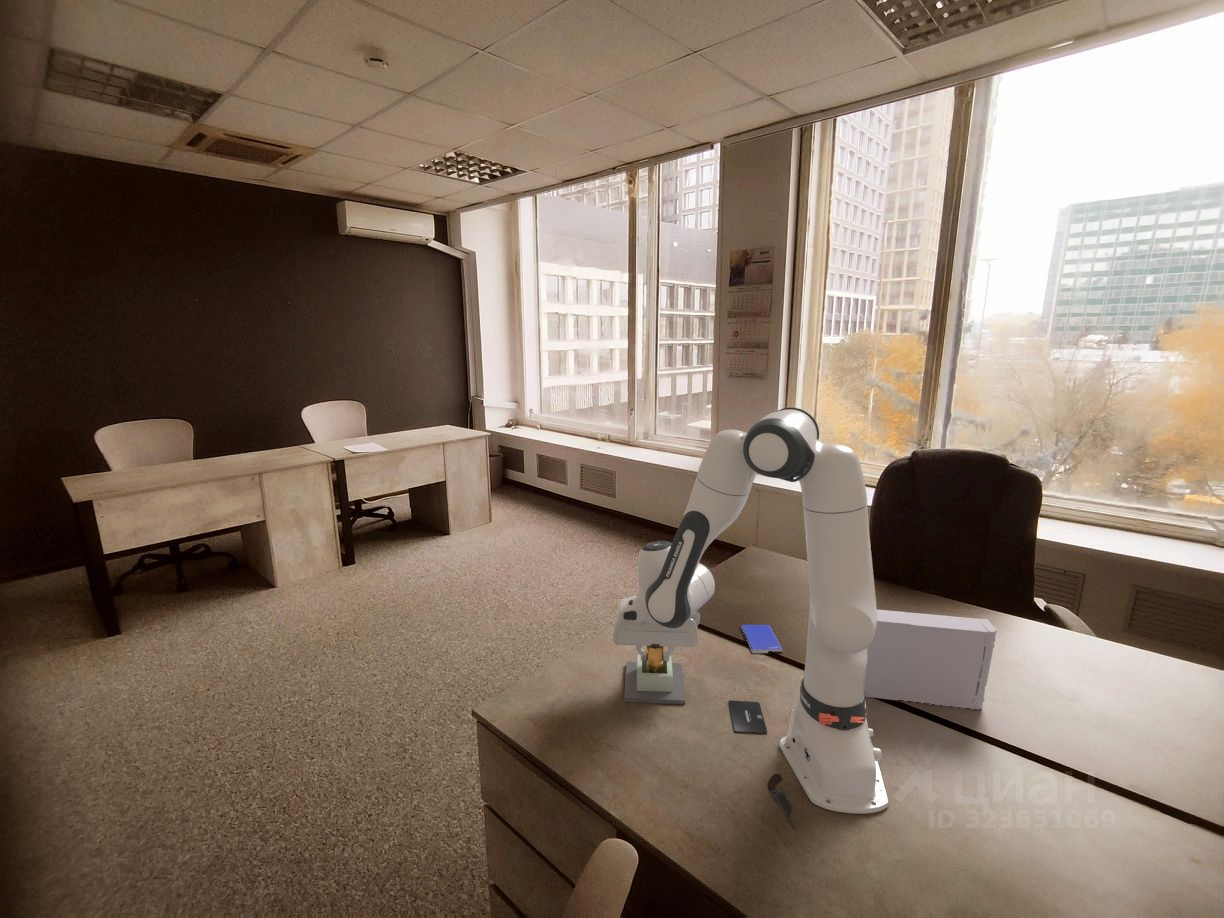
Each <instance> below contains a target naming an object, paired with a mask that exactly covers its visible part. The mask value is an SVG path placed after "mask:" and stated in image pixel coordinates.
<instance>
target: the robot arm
mask: <svg viewBox="0 0 1224 918" xmlns="http://www.w3.org/2000/svg"><path fill="white" fill-rule="evenodd" d="M819 439H820V429H819V425H818V423H817V421H816V419H815V417H814V416H813V415H812V414H810V413H809V412H808V411H806V410H805V409H802V408H799V407H784V408H781V409H778V410H777V411H774V412H773V411H772V412H770V413H769V414H767V415H765V416H763V418H761V419H760V420H759V421H757V422H756V423H755V424H753V425H752V426H751V427H750V429H749V430H748V431H747V432H746V431H742V430H738V429H724V430H721V431H719V432H717V433H716V434H715V435H714V436H713V437H712V439H711V441H710V443H709V445H708V446H707V448H706V450H705V453H704V455H703V458H702V460H701V462H700V465H699V468H698V471H697V474H696V477H695V481H694V484H693V487H692V490H691V494H690V497H689V500H688V502H687V505H686V509H685V510H684V512H683V515H682V519H681V521H680V523H679V526H678V527H677V530H676V532H675V535H674V537H673V539H672V542H669V541H666V540H655V541H651V542H648V543H647V544H645V545H643V546H642V547H641V548H640V550H639V553H638V556H637V567H636V580H637V584H638V589H637V592H636V595H632V596H630V597H625V598H621V599H620V600H619V603H618V607H617V612H616V614H615V618H614V621H613V622H614V623H613V631H612V642H613V643H614V645H616V646H635V649H636V651H637V653H638V655H641V661H647V650H644V649H643V646H644V647H645V646H646V647H647V646H651V644H659V645H660V646H664V647H667V650H665V651H664V650H663V661H668V662H669V656H672V654H673V652H674V651H675V648H677V647H678V648H695V647H696V646H697V645H699V633H698V631H699V630H698V626H699V624H700V622H701V615H700V612H699V611H698V610H699V609H700V608H701V607H702V606H704V605H705V604H706V603H707V602H708V601H709V600H710V599H711V598H712V597H713V596H714V594H715V592H716V581H715V576H714V574H713V573H712V570H710V569H709V568H708V567H707V566H706V565H705V564H704V563H701V562H700V561H701V558H702V556H703V554H704V553H705V551H706V550H707V548H708V547H709V545H711V544H712V543H713V541H714V540H715V539H716V538H718V537H719V536H720V535H721V534H722V533H723V532H724V531H725V530H727V528H729V527H730V526H731V525H732V524H733V523H734V522H736V521H737V519H738V517H739V516H740V514H741V512H743V511H742V510H743V508H744V507H745V505H746V503H747V501H748V499H749V495H750V493H751V490H752V487H753V483H754V480H755V478H756V476H757V474H758V475H761V476H763V477H767V478H773V479H780V480H781V481H782V480H783V481H785V482H786V481H787V482H790V483H796V482H799V485H800V490H801V499H802V509H803V521H804V531H805V532H804V533H805V541H806V542H805V544H806V557H807V559H806V562H807V573H808V574H807V575H808V577H807V578H808V587H809V588H808V589H809V601H810V602H809V612H808V613H809V614H808V625H807V626H808V627H807V639H806V640H807V641H806V650H805V651H806V652H805V653H806V654H805V663H804V664H805V665H804V676H803V678H802V679H801V683H800V686H799V687H800V688H799V700H798V703H797V704H796V705H795V706H793V708H792V710H791V712H790V717H789V723H788V728H787V733H786V734H787V735H786V736H784V737H782V738H781V739H780V741H779V744H778V745H779V748H780V750H781V751H782V754H783V755H784V757H785V759H786V761H787V762H788V765H790V767H791V769H792V771H793V773H794V774H795V777H796V778H797V780H798V782H799V783H800V785H801V787H802V788H803V790H804V792H805V794H806V795H807V797H808V799H809V801H810V802H811V803H812V804H814V805H816V806H818V807H821V808H822V809H825V810H829V811H833V812H838V813H846V814H859V815H860V814H863V815H865V814H872V813H878V812H881V811H884V810H885V809H887V808H888V806H889V798H888V795H887V791H886V787H885V783H884V779H883V776H882V773H881V772H882V771H881V769H880V764H879V762H882V756H883V755H882V754H883V753H882V750H881V748H879V747H874V745H873V744H872V739H871V737H874V729H873V728H870V727H869V724H868V720H867V712H866V711H867V704H866V696H865V695H864V684H865V676H866V668H867V647H868V646H869V645H870V644H871V642H872V641H873V638H874V635H875V631H876V627H877V610H878V609H877V599H876V598H877V597H876V589H875V577H874V569H873V557H872V550H871V549H872V548H871V537H870V525H869V509H868V497H867V496H868V495H867V494H868V493H867V487H866V483H865V482H866V481H865V477H864V473H863V469H862V466H861V465H862V464H861V461H860V459H859V456H858V454H857V453H856V451H854V449H852V448H850V447H848V446H846V445H844V444H838V443H828V444H827V443H826V442H825V443H824V442H821V441H820V440H819Z"/></svg>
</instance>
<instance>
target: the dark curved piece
mask: <svg viewBox="0 0 1224 918" xmlns="http://www.w3.org/2000/svg"><path fill="white" fill-rule="evenodd" d="M782 780H783V777H782V775H781V774H780V773H773V775H771V777H770V778H769V780H768V782H767V788H768V791H769V792H770V795H771V797H772V798H773V799H774V800H775V801H776V802H777V804H778V806H779V807H780V809H781V811H782V812H783V814H784V816H785V817H786V818H787V820H788V822H789V824H790V825H791V827H792V828H793V829H794V831H798V830H797V828H796V826H795V824H794V823H793V820H792V819H791V818H790V817H791V814H792V810H793V807H794V805H793V804H792V801H791V800H790V797H789V796H788V794H787V793H786V792H784V791H777V790H776V786H777V785H778V784H780V782H782Z"/></svg>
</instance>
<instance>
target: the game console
mask: <svg viewBox="0 0 1224 918" xmlns="http://www.w3.org/2000/svg"><path fill="white" fill-rule="evenodd" d="M996 635H997V628H996V627H995V626H994V625H993V623H991V621H989V619H988V618H974V617H965V616H964V617H963V616H952V615H944V614H943V615H941V614H931V613H929V614H928V613H921V612H920V613H919V612H918V613H917V612H907V611H897V610H886V609H877V627H876V631H875V635H874V638H873V641H872V642H871V644H870V645H869V646H868V647H867V668H866V676H865V684H864V695H865V698H866V697H867V698H876V699H882V700H891V701H898V700H906V701H905V702H907V701H913V702H912V703H915V702H922V703H921V704H923V703H930V704H929V705H932V704H935V705H934V706H940V705H942V707H949V706H952V707H951V708H957V707H964V708H963V709H965V708H974V709H981V708H982V709H983V704H984V702H985V693H986V692H985V691H986V687H987V685H988V679H989V674H990V669H991V668H990V667H991V662H992V658H993V652H994V648H995V641H996ZM953 706H954V707H953ZM974 709H973V710H974ZM982 709H981V710H982Z"/></svg>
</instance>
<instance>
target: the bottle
mask: <svg viewBox="0 0 1224 918" xmlns="http://www.w3.org/2000/svg"><path fill="white" fill-rule="evenodd" d="M664 647H665V646H660V645H659V644H651V646H646V651H647V666H646V673H663V651H664Z"/></svg>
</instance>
